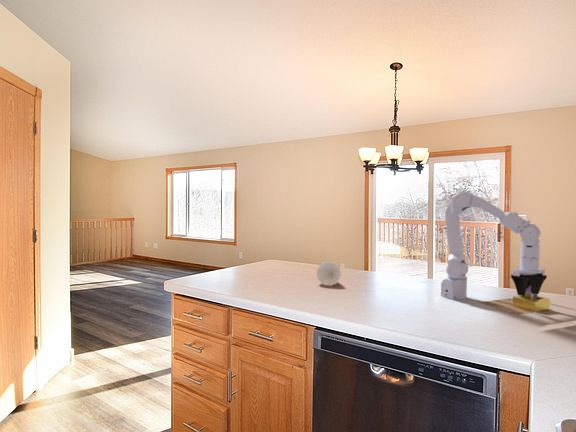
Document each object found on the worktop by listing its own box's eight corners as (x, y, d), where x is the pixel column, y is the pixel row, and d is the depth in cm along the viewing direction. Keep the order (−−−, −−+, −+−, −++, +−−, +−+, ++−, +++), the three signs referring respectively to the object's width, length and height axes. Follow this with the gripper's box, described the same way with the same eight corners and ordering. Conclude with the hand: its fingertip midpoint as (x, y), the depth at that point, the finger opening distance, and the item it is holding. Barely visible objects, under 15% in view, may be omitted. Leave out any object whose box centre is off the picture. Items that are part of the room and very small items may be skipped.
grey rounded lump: (330, 258, 183) (327, 256, 166) (347, 274, 180) (346, 272, 162) (315, 274, 183) (311, 273, 165) (332, 290, 180) (329, 290, 162)
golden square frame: (535, 311, 121) (535, 302, 121) (513, 305, 129) (512, 296, 129) (549, 308, 124) (549, 298, 124) (527, 302, 132) (527, 293, 132)
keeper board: (518, 317, 118) (519, 300, 118) (477, 305, 133) (478, 289, 133) (552, 312, 125) (553, 296, 125) (509, 301, 140) (510, 286, 139)
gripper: (527, 259, 119) (525, 298, 119) (554, 258, 124) (552, 295, 125) (507, 257, 125) (506, 294, 126) (534, 255, 131) (532, 291, 131)
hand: (528, 294), depth 126 cm, fingers open, 7 cm apart
